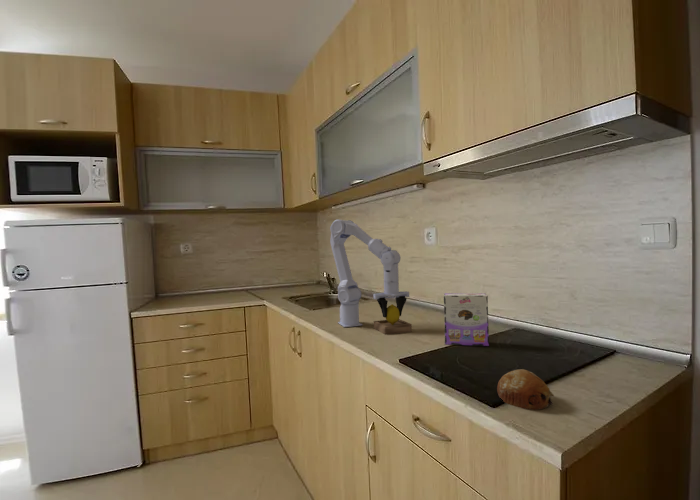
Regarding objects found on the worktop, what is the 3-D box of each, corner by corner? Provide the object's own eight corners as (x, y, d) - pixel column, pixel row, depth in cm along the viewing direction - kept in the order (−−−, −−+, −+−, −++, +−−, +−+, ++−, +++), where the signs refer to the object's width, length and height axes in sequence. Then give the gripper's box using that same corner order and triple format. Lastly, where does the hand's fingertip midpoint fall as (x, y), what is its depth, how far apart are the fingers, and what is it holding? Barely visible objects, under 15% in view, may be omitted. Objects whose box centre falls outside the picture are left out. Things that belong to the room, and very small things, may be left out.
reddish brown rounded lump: (526, 405, 81) (513, 369, 84) (568, 401, 73) (551, 361, 76) (496, 416, 76) (483, 377, 79) (536, 413, 68) (520, 370, 71)
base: (373, 328, 144) (373, 321, 144) (398, 325, 147) (398, 318, 147) (385, 334, 133) (385, 326, 133) (411, 331, 137) (411, 324, 137)
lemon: (387, 326, 137) (386, 305, 137) (384, 323, 142) (383, 303, 142) (401, 326, 137) (401, 305, 137) (397, 322, 143) (397, 302, 143)
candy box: (487, 342, 120) (486, 292, 120) (489, 346, 115) (488, 295, 114) (444, 340, 124) (443, 292, 124) (444, 344, 118) (443, 294, 118)
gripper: (378, 283, 134) (379, 320, 134) (412, 281, 138) (413, 316, 139) (370, 281, 140) (371, 316, 141) (404, 279, 145) (404, 313, 145)
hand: (392, 316), depth 140 cm, fingers closed on lemon, 5 cm apart
